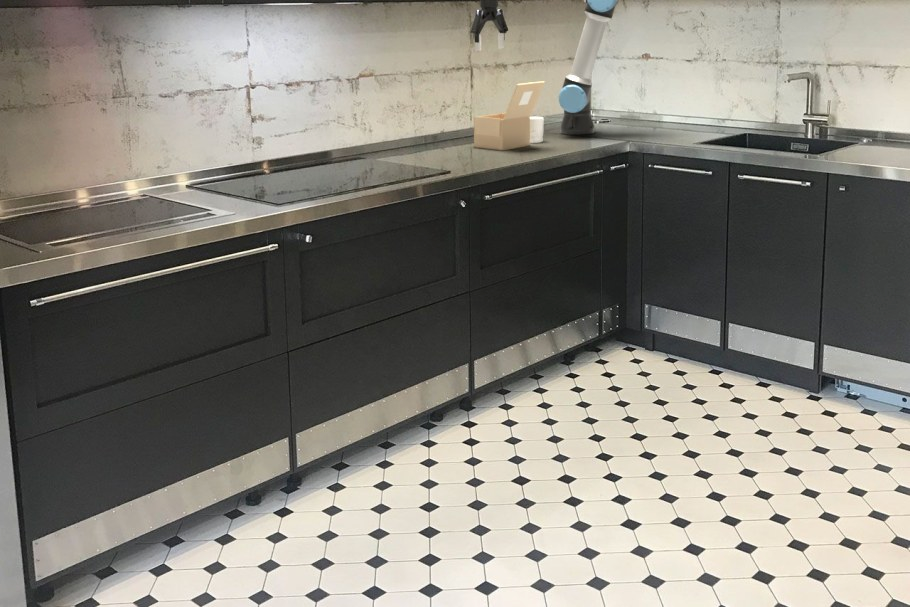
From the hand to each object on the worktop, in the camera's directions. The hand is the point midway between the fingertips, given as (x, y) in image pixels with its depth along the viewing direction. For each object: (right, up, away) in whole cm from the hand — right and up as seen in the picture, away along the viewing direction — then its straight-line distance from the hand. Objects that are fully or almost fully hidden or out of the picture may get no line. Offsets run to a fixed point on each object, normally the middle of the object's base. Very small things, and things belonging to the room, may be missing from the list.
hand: (489, 49), depth 436 cm
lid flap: (+12, -28, -33) cm, 45 cm away
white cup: (+18, -41, -9) cm, 46 cm away
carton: (+4, -44, -19) cm, 48 cm away
